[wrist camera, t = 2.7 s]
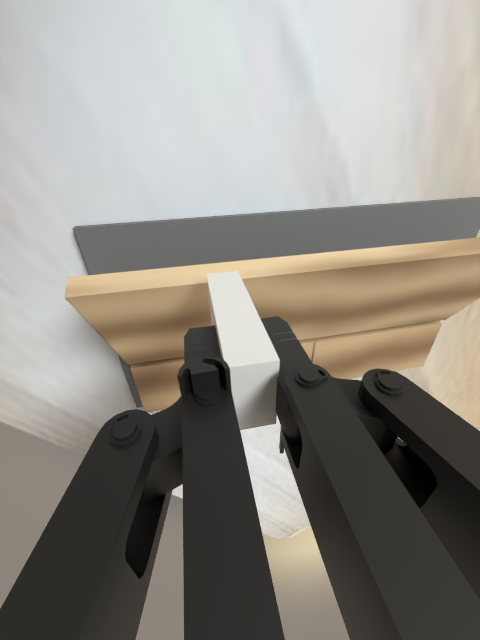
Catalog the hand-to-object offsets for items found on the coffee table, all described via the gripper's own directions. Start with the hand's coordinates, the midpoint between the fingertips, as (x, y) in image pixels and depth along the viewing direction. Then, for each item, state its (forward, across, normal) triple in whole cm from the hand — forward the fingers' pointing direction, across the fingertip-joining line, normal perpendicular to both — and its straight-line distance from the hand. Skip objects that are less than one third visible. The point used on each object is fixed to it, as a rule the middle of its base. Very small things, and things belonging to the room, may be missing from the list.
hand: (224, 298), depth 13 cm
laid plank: (+8, +7, -12) cm, 16 cm away
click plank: (+4, +7, -3) cm, 9 cm away
